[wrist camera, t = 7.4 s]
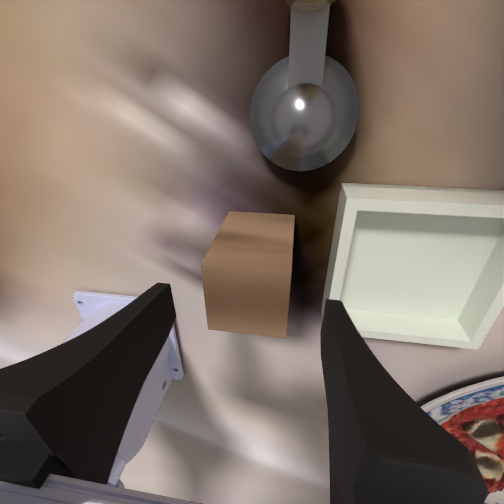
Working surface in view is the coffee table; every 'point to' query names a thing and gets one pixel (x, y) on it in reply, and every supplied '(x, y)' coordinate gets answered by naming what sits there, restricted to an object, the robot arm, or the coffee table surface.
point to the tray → (418, 262)
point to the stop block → (250, 274)
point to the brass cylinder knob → (305, 83)
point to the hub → (276, 83)
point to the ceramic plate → (477, 428)
